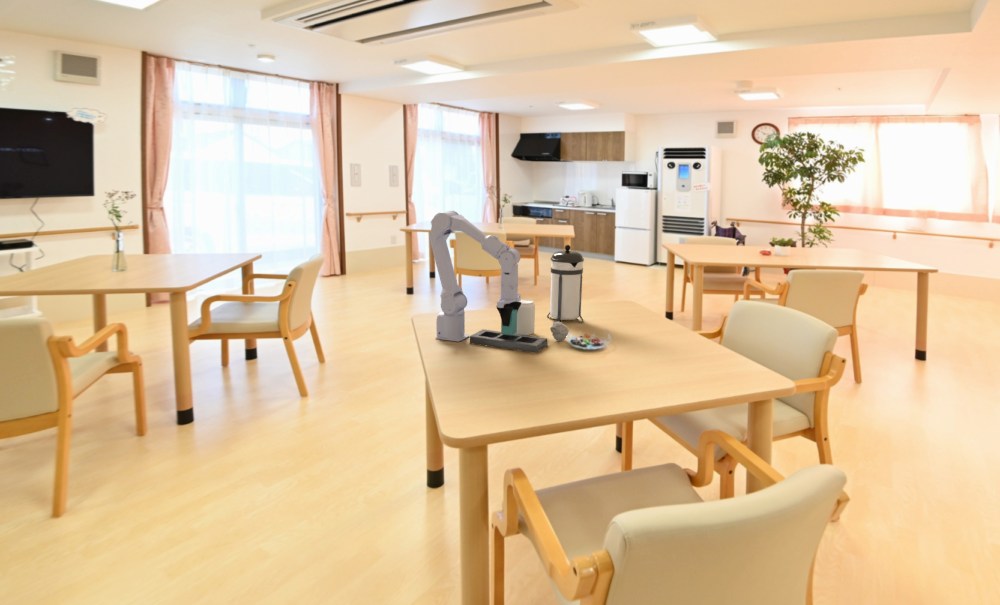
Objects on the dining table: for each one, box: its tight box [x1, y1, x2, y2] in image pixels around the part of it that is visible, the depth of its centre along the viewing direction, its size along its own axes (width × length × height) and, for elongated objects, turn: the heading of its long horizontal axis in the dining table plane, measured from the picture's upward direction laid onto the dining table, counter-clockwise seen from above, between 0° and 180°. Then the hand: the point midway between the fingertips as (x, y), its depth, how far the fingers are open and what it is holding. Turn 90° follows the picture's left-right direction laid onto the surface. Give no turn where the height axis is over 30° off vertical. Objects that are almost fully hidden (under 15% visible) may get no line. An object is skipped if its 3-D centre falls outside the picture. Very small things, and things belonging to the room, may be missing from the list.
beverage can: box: [515, 298, 536, 336], centre depth 217 cm, size 8×8×12 cm
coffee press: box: [546, 244, 585, 324], centre depth 235 cm, size 17×16×30 cm
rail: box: [469, 328, 548, 354], centre depth 204 cm, size 24×10×2 cm, turn 65°
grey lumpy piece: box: [550, 321, 570, 342], centre depth 209 cm, size 6×7×7 cm
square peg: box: [500, 309, 517, 335], centre depth 203 cm, size 4×4×8 cm
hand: (508, 324), depth 203 cm, fingers closed on square peg, 4 cm apart
